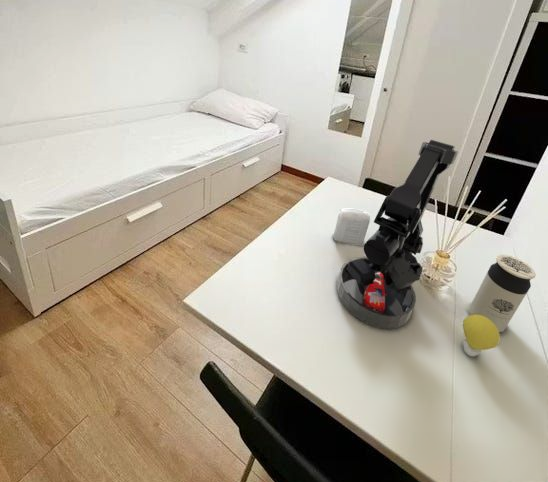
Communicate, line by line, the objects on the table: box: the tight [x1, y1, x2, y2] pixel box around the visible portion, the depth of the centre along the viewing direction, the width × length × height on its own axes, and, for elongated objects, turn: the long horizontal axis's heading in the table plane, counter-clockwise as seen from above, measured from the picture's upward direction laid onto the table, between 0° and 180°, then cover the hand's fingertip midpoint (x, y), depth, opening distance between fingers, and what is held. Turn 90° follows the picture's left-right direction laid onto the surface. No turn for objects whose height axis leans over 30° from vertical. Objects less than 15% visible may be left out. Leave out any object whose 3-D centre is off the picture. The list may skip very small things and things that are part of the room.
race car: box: [363, 272, 387, 313], centre depth 77 cm, size 13×5×4 cm, turn 161°
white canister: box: [468, 254, 536, 333], centre depth 72 cm, size 8×8×18 cm
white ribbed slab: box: [332, 207, 371, 246], centre depth 97 cm, size 10×4×12 cm, turn 84°
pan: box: [336, 257, 417, 330], centre depth 78 cm, size 19×19×4 cm
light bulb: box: [462, 314, 501, 357], centre depth 65 cm, size 7×7×10 cm
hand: (374, 288), depth 78 cm, fingers open, 9 cm apart
